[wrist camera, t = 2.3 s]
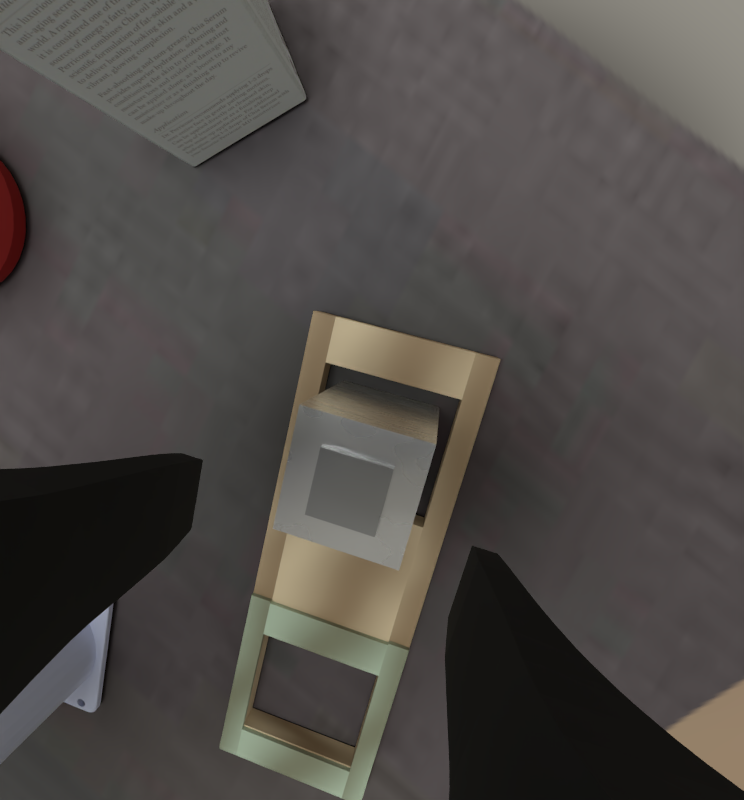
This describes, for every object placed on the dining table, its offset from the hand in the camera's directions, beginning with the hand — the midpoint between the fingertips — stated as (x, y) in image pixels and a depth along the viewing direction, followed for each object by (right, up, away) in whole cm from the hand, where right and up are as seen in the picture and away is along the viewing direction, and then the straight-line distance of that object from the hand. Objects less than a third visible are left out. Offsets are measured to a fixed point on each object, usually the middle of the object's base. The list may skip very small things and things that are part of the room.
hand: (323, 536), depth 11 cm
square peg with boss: (+2, +2, +9) cm, 9 cm away
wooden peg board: (0, -5, +10) cm, 11 cm away
